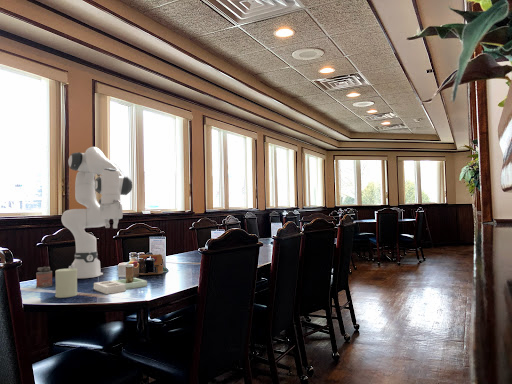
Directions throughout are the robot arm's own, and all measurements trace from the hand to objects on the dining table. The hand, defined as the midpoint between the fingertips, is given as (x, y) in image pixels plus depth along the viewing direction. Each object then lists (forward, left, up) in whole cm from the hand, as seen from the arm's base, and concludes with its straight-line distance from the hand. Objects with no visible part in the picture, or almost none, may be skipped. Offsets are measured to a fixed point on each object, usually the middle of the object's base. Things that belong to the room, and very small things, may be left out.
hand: (111, 228), depth 208 cm
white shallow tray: (+7, -4, -29) cm, 30 cm away
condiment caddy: (-25, +34, -30) cm, 51 cm away
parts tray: (+4, +7, -29) cm, 30 cm away
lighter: (-27, -24, -29) cm, 47 cm away
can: (+4, -23, -29) cm, 37 cm away
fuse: (+4, +7, -28) cm, 30 cm away
